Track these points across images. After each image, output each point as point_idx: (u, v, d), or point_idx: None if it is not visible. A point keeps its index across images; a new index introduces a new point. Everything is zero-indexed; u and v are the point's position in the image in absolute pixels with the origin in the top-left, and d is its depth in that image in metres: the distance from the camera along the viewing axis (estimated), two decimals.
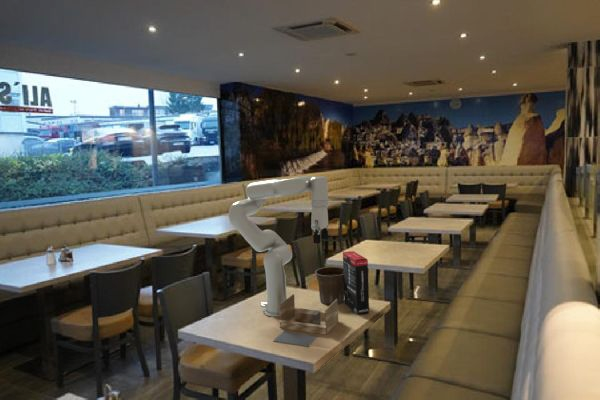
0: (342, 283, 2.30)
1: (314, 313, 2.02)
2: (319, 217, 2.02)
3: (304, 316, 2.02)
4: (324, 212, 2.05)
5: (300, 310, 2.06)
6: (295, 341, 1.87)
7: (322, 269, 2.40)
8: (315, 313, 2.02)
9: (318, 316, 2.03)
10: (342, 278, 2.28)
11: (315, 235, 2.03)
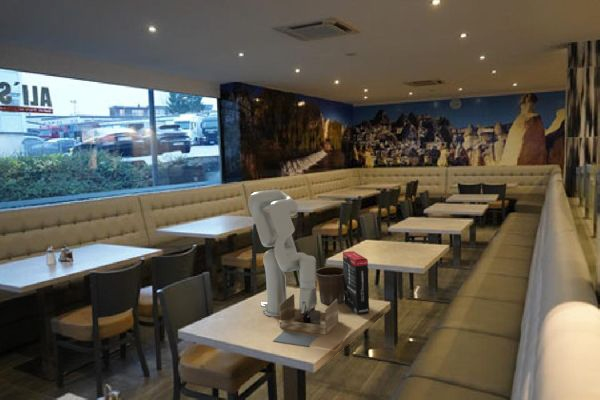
0: (342, 283, 2.30)
1: (314, 313, 2.02)
2: (307, 299, 1.98)
3: None
4: (312, 293, 2.01)
5: (300, 310, 2.06)
6: (295, 341, 1.87)
7: (322, 269, 2.40)
8: (315, 313, 2.02)
9: (318, 316, 2.03)
10: (342, 278, 2.28)
11: (305, 318, 2.01)
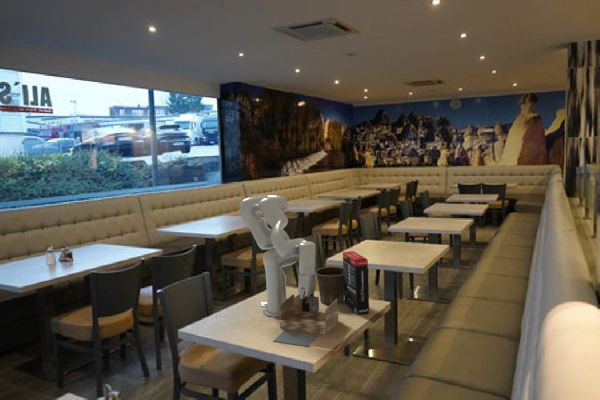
0: (342, 283, 2.30)
1: (313, 299, 2.02)
2: (306, 285, 1.98)
3: None
4: (311, 279, 2.01)
5: (299, 296, 2.06)
6: (295, 341, 1.87)
7: (322, 269, 2.40)
8: (314, 299, 2.01)
9: (317, 302, 2.03)
10: (342, 278, 2.28)
11: (303, 303, 2.00)
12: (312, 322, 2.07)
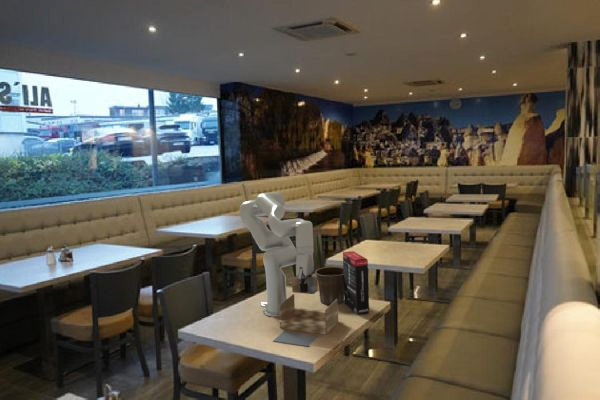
0: (342, 283, 2.30)
1: (311, 279, 1.98)
2: (304, 264, 1.94)
3: None
4: (309, 258, 1.97)
5: (297, 277, 2.02)
6: (295, 341, 1.87)
7: (322, 269, 2.40)
8: (312, 279, 1.98)
9: (315, 282, 1.99)
10: (342, 278, 2.28)
11: (302, 284, 1.97)
12: (312, 322, 2.07)
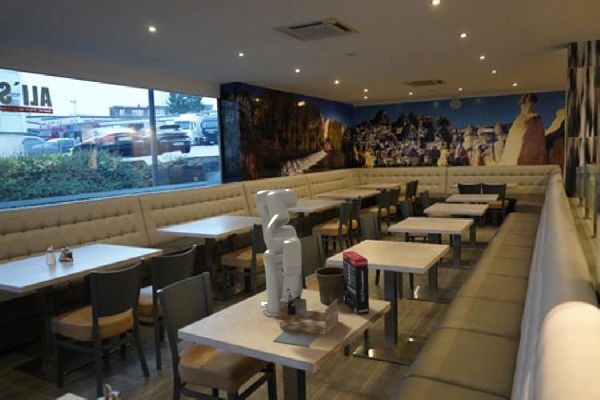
0: (342, 283, 2.30)
1: (299, 301, 1.87)
2: (291, 286, 1.83)
3: None
4: (297, 279, 1.86)
5: None
6: (295, 341, 1.87)
7: (322, 269, 2.40)
8: (300, 301, 1.86)
9: (304, 305, 1.87)
10: (342, 278, 2.28)
11: (289, 306, 1.85)
12: (312, 322, 2.07)
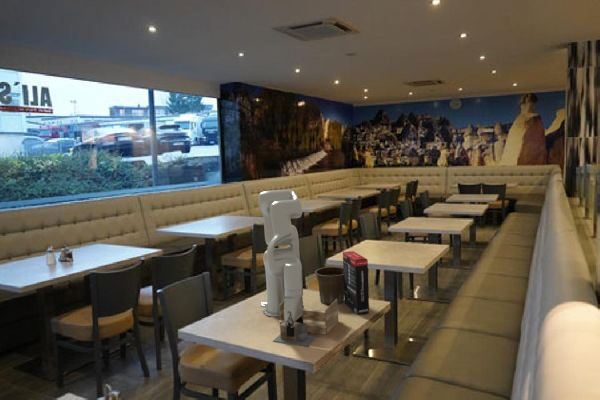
0: (342, 283, 2.30)
1: (300, 326, 1.88)
2: (292, 308, 1.84)
3: None
4: (298, 302, 1.87)
5: None
6: (295, 341, 1.87)
7: (322, 269, 2.40)
8: (301, 326, 1.88)
9: (304, 329, 1.89)
10: (342, 278, 2.28)
11: (288, 328, 1.85)
12: (312, 322, 2.07)
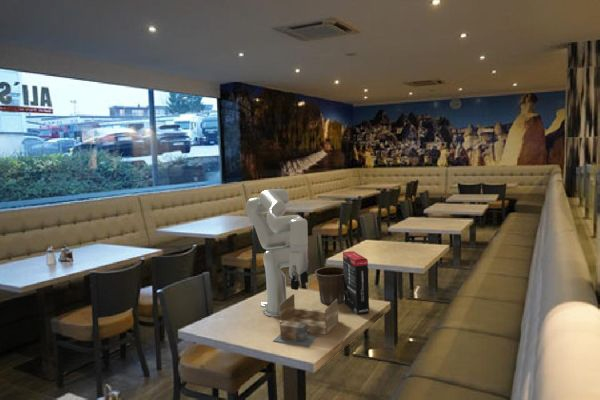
0: (342, 283, 2.30)
1: (300, 326, 1.88)
2: (297, 262, 1.91)
3: (290, 329, 1.88)
4: (303, 256, 1.93)
5: (285, 323, 1.92)
6: (295, 341, 1.87)
7: (322, 269, 2.40)
8: (301, 326, 1.88)
9: (304, 329, 1.89)
10: (342, 278, 2.28)
11: (292, 281, 1.92)
12: (312, 322, 2.07)
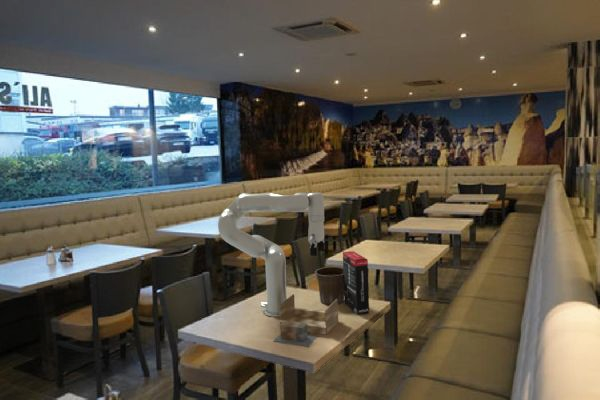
0: (342, 283, 2.30)
1: (300, 326, 1.88)
2: (316, 231, 2.15)
3: (290, 329, 1.88)
4: (320, 226, 2.17)
5: (285, 323, 1.92)
6: (295, 341, 1.87)
7: (322, 269, 2.40)
8: (301, 326, 1.88)
9: (304, 329, 1.89)
10: (342, 278, 2.28)
11: (312, 248, 2.15)
12: (312, 322, 2.07)
